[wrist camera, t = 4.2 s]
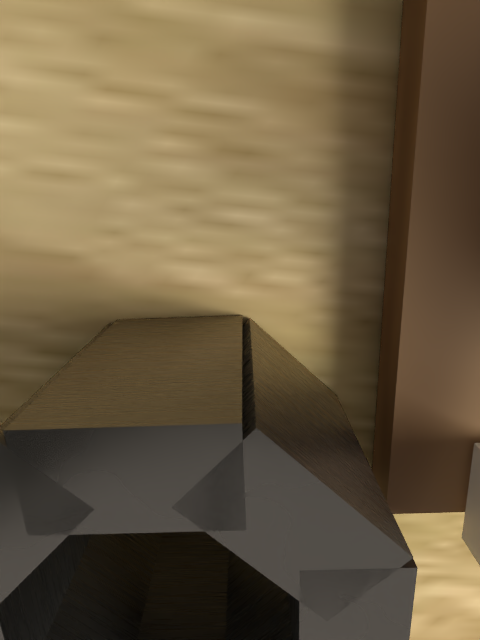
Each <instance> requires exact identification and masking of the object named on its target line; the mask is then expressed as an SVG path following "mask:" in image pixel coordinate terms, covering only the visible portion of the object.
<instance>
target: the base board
mask: <svg viewBox="0 0 480 640" xmlns="http://www.w3.org/2000/svg"><path fill="white" fill-rule="evenodd" d="M474 443H480V0H403V13H402V28H401V44H400V59H399V74H398V89H397V104H396V119H395V134H394V149H393V164H392V179H391V194H390V209H389V224H388V240H387V255H386V270H385V285H384V300H383V315H382V330H381V345H380V360H379V375H378V390H377V405H376V420H375V435H374V451H373V466H372V472H373V474H374V476H375V478H376V480H377V482H378V485H379V487H380V489H381V491H382V493H383V495H384V497H385V499H386V501H387V503H388V506H389V508H390V510H391V512H392V514H403V513H442V512H465V510H466V502H467V494H468V487H469V479H470V471H471V463H472V456H473V448H474Z"/></svg>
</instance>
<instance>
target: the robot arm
mask: <svg viewBox="0 0 480 640" xmlns="http://www.w3.org/2000/svg"><path fill="white" fill-rule="evenodd" d="M462 539H463V540H464V542H465V543H466V545H467V546H468V548H469V550H470V551H471V553H472V554H473V556H474V557H475V559H476V561H477V562H478V564H479V565H480V443H474V448H473V456H472V463H471V471H470V479H469V487H468V494H467V502H466V510H465V517H464V525H463V533H462Z"/></svg>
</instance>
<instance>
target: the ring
mask: <svg viewBox="0 0 480 640" xmlns="http://www.w3.org/2000/svg"><path fill="white" fill-rule="evenodd" d="M416 575H417V566H416V564H415V562H414V560H413V556H412V554H411V552H410V550H409V548H408V546H407V543H406V541H405V539H404V537H403V535H402V533H401V531H400V529H399V527H398V525H397V522H396V520H395V518H394V516H393V514H392V512H391V510H390V508H389V506H388V503H387V501H386V499H385V497H384V495H383V493H382V491H381V489H380V487H379V485H378V482H377V480H376V478H375V476H374V474H373V472H372V470H371V468H370V466H369V463H368V461H367V459H366V457H365V455H364V453H363V451H362V449H361V447H360V445H359V442H358V440H357V438H356V436H355V434H354V432H353V430H352V428H351V426H350V424H349V421H348V419H347V417H346V415H345V413H344V411H343V409H342V407H341V405H340V402H339V400H338V398H337V396H336V395H335V394H334V393H333V392H332V391H331V390H330V389H329V388H327V387H326V386H325V385H324V384H323V383H322V382H321V381H320V380H319V379H317V378H316V377H315V376H314V375H313V374H312V373H311V372H310V371H308V370H307V369H306V368H305V367H304V366H303V365H302V364H301V363H300V362H298V361H297V360H296V359H295V358H294V357H293V356H292V355H291V354H290V353H288V352H287V351H286V350H285V349H284V348H283V347H282V346H281V345H279V344H278V343H277V342H276V341H275V340H274V339H273V338H272V337H271V336H269V335H268V334H267V333H266V332H265V331H264V330H263V329H262V328H261V327H259V326H258V325H257V324H256V323H255V322H254V321H253V320H252V319H251V318H249V319H248V320H247V321H246V322H245V323H244V324H243V321H242V315H238V316H209V317H180V318H151V319H122V320H117V321H116V322H115V323H113V324H111V323H110V324H109V325H107V326H106V327H105V328H104V329H103V330H102V331H101V332H100V333H99V334H98V335H97V336H96V337H95V338H94V339H93V340H91V341H90V342H89V343H88V344H87V345H86V346H85V347H84V348H83V349H82V350H81V351H80V352H79V353H78V354H77V355H76V356H74V357H73V358H72V359H71V360H70V361H69V362H68V363H67V364H66V365H65V366H64V367H63V368H62V369H61V370H60V371H58V372H57V373H56V374H55V375H54V376H53V377H52V378H51V379H50V380H49V381H48V382H47V383H46V384H45V385H44V386H43V387H41V388H40V389H39V390H38V391H37V392H36V393H35V394H34V395H33V396H32V397H31V398H30V399H29V400H28V401H27V402H25V403H24V404H23V405H22V406H21V407H20V408H19V409H18V410H17V411H16V412H15V413H14V414H13V415H12V416H11V417H9V418H8V419H7V420H6V421H5V422H4V423H3V424H2V425H1V426H0V640H409V636H410V628H411V619H412V610H413V601H414V592H415V584H416Z"/></svg>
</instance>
